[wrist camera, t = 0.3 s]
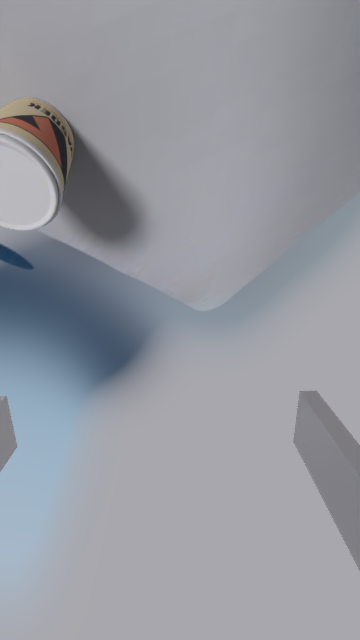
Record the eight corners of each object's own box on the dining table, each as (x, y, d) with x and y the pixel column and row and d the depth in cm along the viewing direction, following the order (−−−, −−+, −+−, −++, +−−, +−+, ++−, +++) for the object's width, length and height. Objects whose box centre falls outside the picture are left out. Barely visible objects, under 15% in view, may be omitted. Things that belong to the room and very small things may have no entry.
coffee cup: (99, 148, 38) (81, 202, 30) (45, 190, 41) (18, 248, 34) (31, 64, 32) (-13, 105, 24) (-24, 123, 35) (-77, 175, 28)
